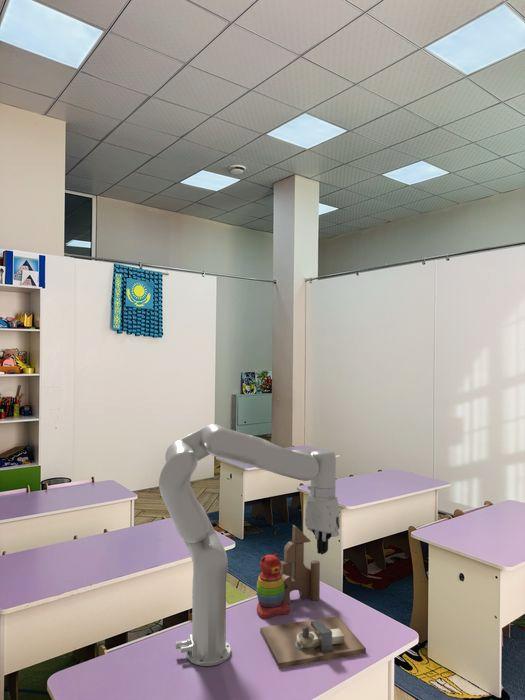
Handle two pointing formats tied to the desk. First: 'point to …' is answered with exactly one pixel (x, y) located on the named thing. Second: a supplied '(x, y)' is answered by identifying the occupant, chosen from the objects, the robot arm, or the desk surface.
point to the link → (316, 637)
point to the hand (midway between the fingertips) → (322, 552)
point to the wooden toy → (299, 569)
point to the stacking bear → (270, 588)
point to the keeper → (323, 636)
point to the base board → (290, 654)
